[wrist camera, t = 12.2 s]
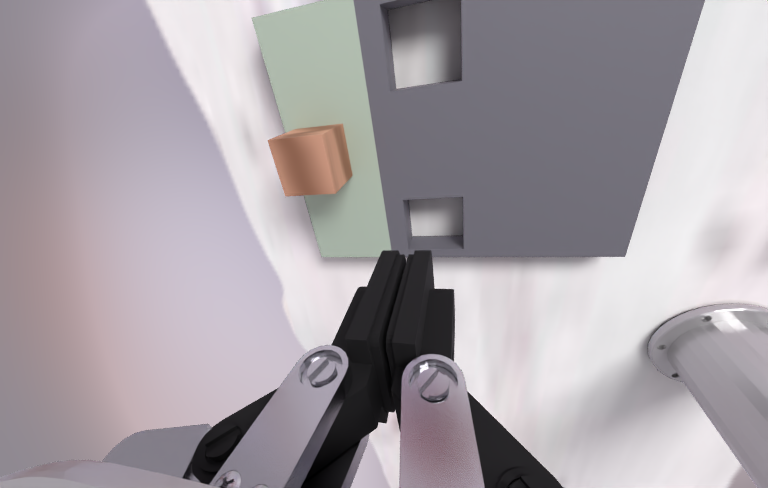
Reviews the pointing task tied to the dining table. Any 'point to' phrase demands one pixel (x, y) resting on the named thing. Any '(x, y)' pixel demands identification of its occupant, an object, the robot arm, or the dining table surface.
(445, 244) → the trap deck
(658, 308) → the dining table surface
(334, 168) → the terracotta block
